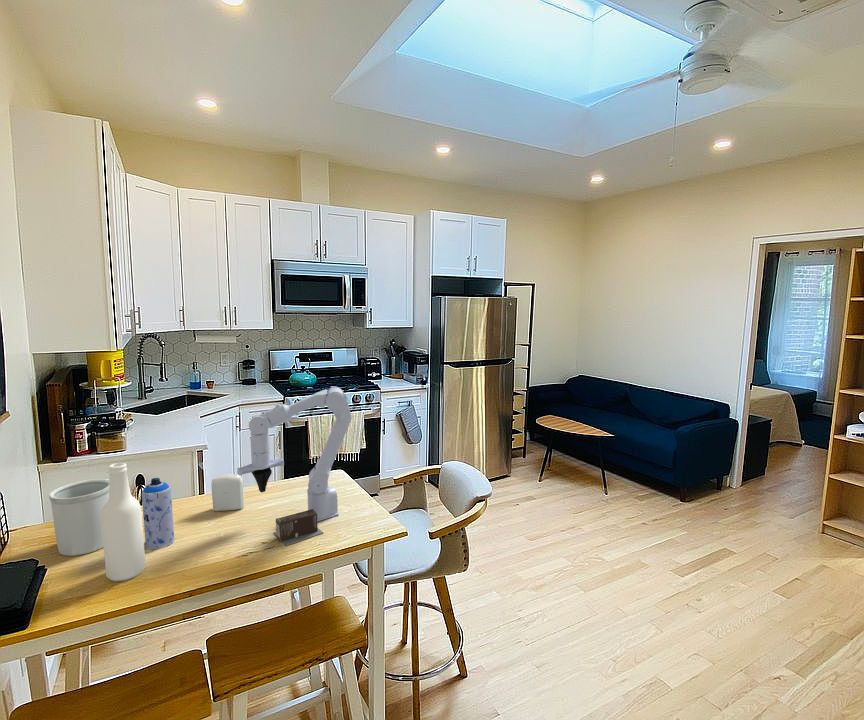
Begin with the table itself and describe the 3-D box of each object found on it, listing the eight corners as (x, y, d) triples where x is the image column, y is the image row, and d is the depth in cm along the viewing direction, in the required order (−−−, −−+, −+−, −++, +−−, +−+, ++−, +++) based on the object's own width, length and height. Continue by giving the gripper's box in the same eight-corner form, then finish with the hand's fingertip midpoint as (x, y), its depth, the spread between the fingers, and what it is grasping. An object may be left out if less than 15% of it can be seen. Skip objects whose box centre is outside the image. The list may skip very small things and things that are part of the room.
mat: (309, 521, 154) (309, 520, 154) (323, 533, 146) (323, 532, 146) (273, 533, 146) (273, 532, 146) (286, 546, 138) (286, 545, 138)
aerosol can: (141, 542, 140) (136, 478, 137) (170, 533, 146) (165, 472, 143) (149, 552, 135) (144, 486, 132) (178, 542, 140) (174, 478, 138)
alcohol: (106, 570, 126) (96, 463, 122) (144, 560, 131) (136, 457, 127) (106, 586, 118) (96, 473, 115) (147, 575, 123) (138, 466, 120)
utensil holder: (43, 551, 135) (36, 493, 133) (96, 528, 149) (91, 475, 146) (76, 561, 130) (70, 502, 127) (128, 537, 143) (123, 482, 141)
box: (279, 524, 139) (317, 513, 146) (274, 518, 142) (312, 507, 150) (280, 543, 140) (318, 531, 147) (275, 537, 143) (312, 525, 150)
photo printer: (211, 512, 160) (209, 477, 159) (214, 506, 164) (213, 473, 163) (242, 510, 162) (241, 476, 160) (245, 505, 166) (243, 471, 164)
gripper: (277, 443, 159) (279, 481, 160) (233, 452, 149) (235, 492, 151) (285, 448, 153) (287, 488, 155) (240, 458, 144) (242, 500, 146)
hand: (262, 491), depth 153 cm, fingers closed
